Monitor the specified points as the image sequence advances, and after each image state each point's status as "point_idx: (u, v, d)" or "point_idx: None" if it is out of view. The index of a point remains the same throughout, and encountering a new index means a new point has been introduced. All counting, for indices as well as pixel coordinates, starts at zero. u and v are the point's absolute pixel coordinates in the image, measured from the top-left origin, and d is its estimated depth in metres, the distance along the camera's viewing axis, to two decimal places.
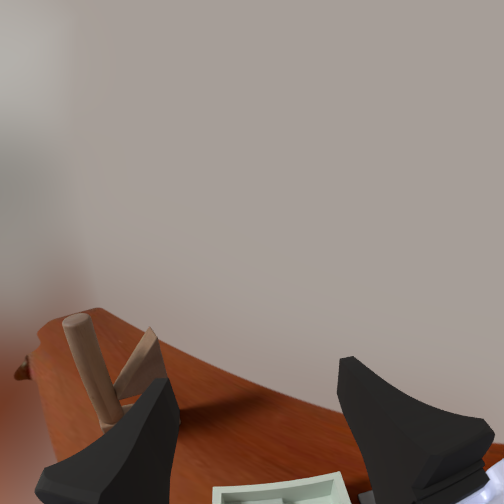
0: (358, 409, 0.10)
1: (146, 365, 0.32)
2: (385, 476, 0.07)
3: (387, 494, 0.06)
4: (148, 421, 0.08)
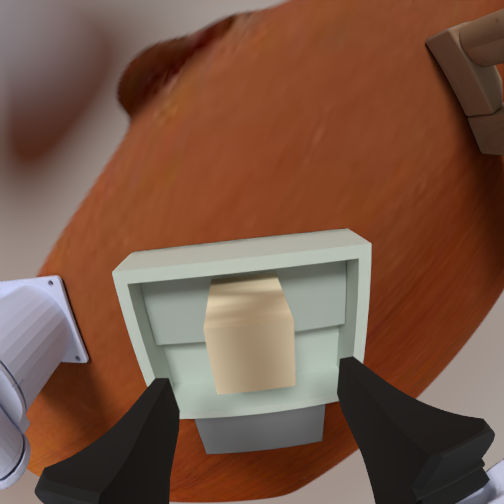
0: (358, 409, 0.10)
1: None
2: (385, 476, 0.07)
3: (388, 494, 0.06)
4: (148, 421, 0.08)
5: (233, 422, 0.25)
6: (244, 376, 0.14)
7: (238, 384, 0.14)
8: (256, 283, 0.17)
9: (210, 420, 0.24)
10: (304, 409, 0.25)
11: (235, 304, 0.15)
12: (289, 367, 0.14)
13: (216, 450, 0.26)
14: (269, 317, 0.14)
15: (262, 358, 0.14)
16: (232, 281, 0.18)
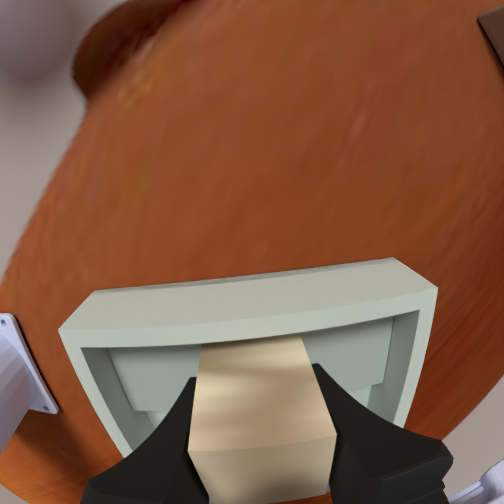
0: None
1: None
2: (340, 489, 0.07)
3: None
4: None
5: None
6: (254, 493, 0.08)
7: (244, 499, 0.08)
8: (270, 349, 0.11)
9: None
10: None
11: (240, 397, 0.09)
12: (320, 481, 0.08)
13: None
14: (296, 428, 0.07)
15: (282, 476, 0.07)
16: (233, 342, 0.12)
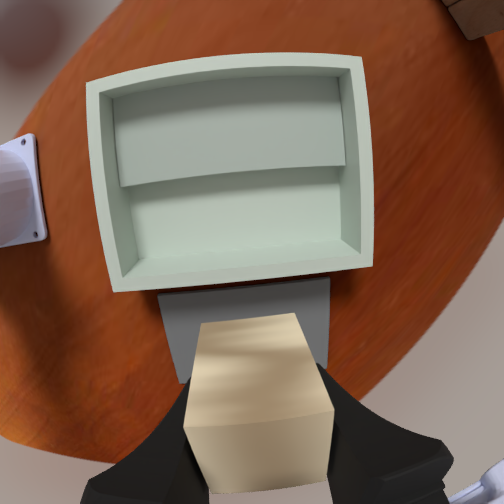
0: None
1: None
2: (340, 489, 0.07)
3: None
4: None
5: None
6: (252, 477, 0.08)
7: (242, 485, 0.08)
8: (267, 333, 0.11)
9: (182, 322, 0.21)
10: (303, 311, 0.21)
11: (237, 376, 0.09)
12: (319, 464, 0.08)
13: None
14: (294, 404, 0.07)
15: (279, 458, 0.07)
16: (231, 327, 0.12)
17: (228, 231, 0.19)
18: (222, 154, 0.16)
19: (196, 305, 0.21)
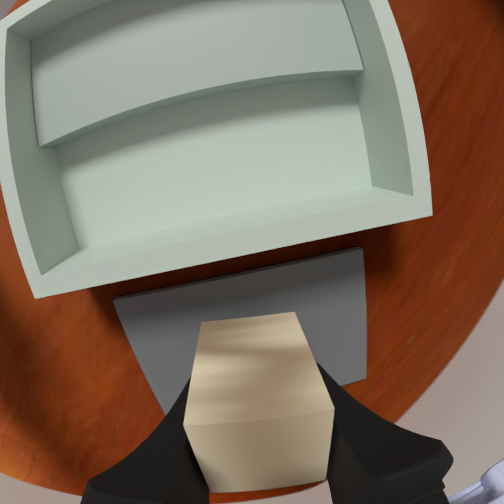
0: None
1: None
2: (340, 489, 0.07)
3: None
4: None
5: (196, 340, 0.14)
6: (252, 476, 0.08)
7: (241, 484, 0.08)
8: (268, 331, 0.11)
9: (153, 335, 0.14)
10: (328, 302, 0.14)
11: (237, 374, 0.09)
12: (319, 463, 0.08)
13: None
14: (294, 403, 0.07)
15: (279, 457, 0.07)
16: (232, 326, 0.12)
17: (198, 190, 0.12)
18: (172, 70, 0.09)
19: (168, 309, 0.14)
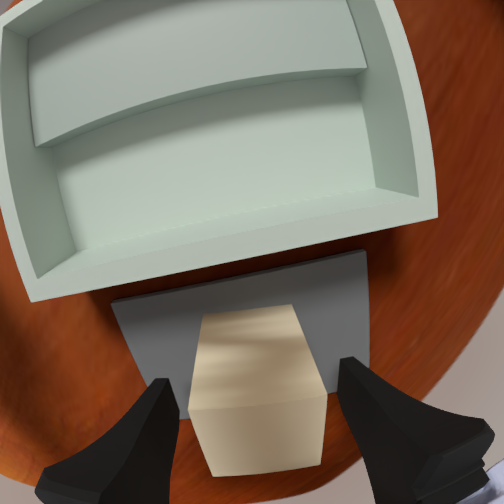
0: (358, 409, 0.10)
1: None
2: (385, 476, 0.07)
3: (388, 494, 0.06)
4: (148, 421, 0.08)
5: (196, 344, 0.14)
6: (251, 460, 0.09)
7: (241, 467, 0.09)
8: (266, 323, 0.12)
9: (152, 339, 0.14)
10: (331, 305, 0.14)
11: (237, 362, 0.10)
12: (314, 448, 0.09)
13: (180, 411, 0.15)
14: (290, 389, 0.08)
15: (277, 441, 0.08)
16: (232, 317, 0.13)
17: (198, 191, 0.12)
18: (171, 67, 0.09)
19: (167, 312, 0.13)
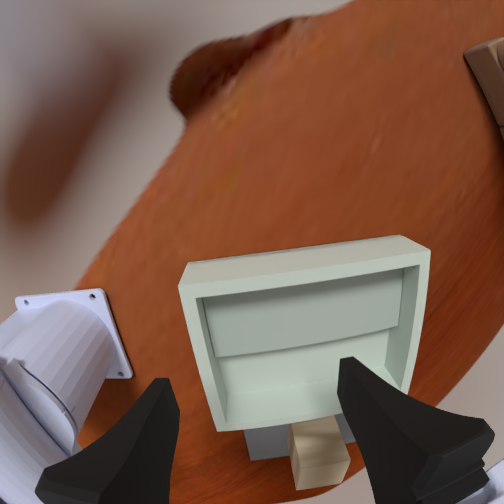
0: (358, 409, 0.10)
1: None
2: (385, 476, 0.07)
3: (388, 494, 0.06)
4: (148, 421, 0.08)
5: (282, 428, 0.24)
6: (315, 482, 0.19)
7: (310, 485, 0.19)
8: (322, 424, 0.23)
9: None
10: None
11: (314, 446, 0.20)
12: (340, 476, 0.19)
13: (261, 456, 0.26)
14: (337, 458, 0.19)
15: (328, 475, 0.19)
16: None
17: (301, 373, 0.22)
18: (305, 332, 0.20)
19: None
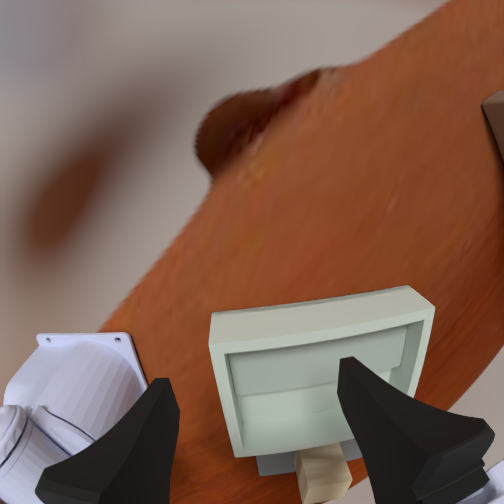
0: (358, 409, 0.10)
1: None
2: (385, 476, 0.07)
3: (388, 494, 0.06)
4: (148, 421, 0.08)
5: None
6: (320, 498, 0.20)
7: (315, 500, 0.20)
8: (327, 446, 0.24)
9: None
10: None
11: (320, 467, 0.22)
12: (342, 493, 0.20)
13: (269, 472, 0.27)
14: (340, 478, 0.20)
15: (332, 492, 0.20)
16: None
17: (310, 404, 0.23)
18: (318, 374, 0.21)
19: None
